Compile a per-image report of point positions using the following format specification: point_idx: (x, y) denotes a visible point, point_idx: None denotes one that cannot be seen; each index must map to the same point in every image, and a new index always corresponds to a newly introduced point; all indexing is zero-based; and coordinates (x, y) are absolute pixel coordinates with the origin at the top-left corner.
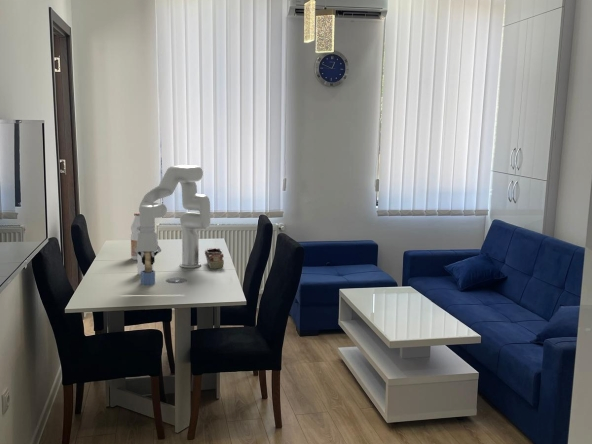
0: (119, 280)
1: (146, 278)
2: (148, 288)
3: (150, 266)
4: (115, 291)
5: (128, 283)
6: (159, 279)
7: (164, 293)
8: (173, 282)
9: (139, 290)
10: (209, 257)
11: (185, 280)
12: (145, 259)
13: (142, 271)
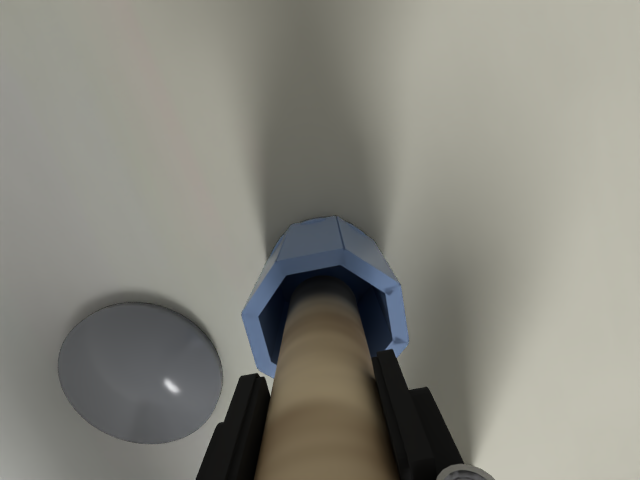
0: (574, 339)
1: (317, 235)
2: (282, 163)
3: (282, 356)
4: (543, 5)
5: (486, 275)
6: None
7: (81, 27)
8: (135, 326)
9: (336, 85)
10: None
11: (74, 390)
12: (363, 428)
13: (389, 321)
